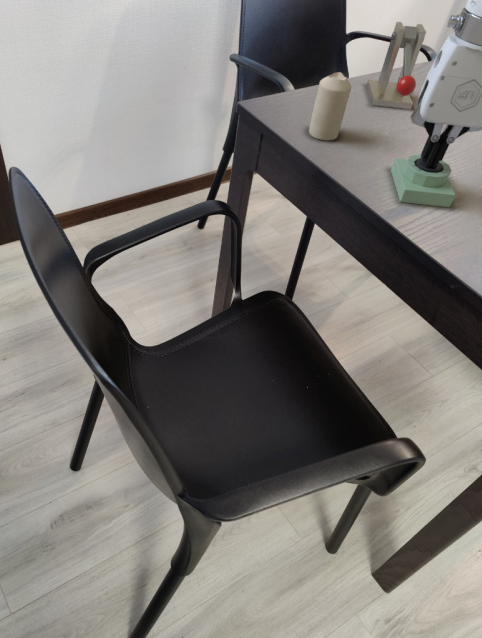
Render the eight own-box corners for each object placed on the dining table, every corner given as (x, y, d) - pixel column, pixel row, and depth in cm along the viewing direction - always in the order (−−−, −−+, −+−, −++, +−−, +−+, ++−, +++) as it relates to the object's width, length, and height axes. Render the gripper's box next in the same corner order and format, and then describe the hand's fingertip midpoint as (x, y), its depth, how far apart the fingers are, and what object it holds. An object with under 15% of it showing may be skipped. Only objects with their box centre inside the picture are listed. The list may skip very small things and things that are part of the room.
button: (435, 168, 83) (439, 158, 81) (440, 181, 80) (444, 171, 79) (410, 166, 83) (415, 155, 81) (415, 178, 80) (419, 168, 79)
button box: (436, 175, 86) (447, 152, 83) (449, 207, 80) (461, 184, 77) (390, 170, 87) (399, 147, 83) (399, 202, 80) (409, 178, 77)
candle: (313, 124, 96) (327, 66, 88) (341, 131, 95) (357, 73, 87) (304, 135, 93) (317, 76, 85) (333, 143, 91) (349, 84, 84)
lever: (411, 101, 97) (418, 87, 93) (393, 99, 97) (400, 85, 93) (412, 39, 100) (420, 24, 96) (395, 38, 100) (402, 22, 96)
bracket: (410, 109, 103) (437, 37, 93) (371, 105, 103) (394, 33, 93) (402, 89, 109) (427, 20, 99) (366, 85, 109) (386, 16, 99)
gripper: (436, 33, 63) (385, 170, 78) (554, 46, 63) (481, 181, 78) (425, 14, 68) (378, 147, 82) (534, 27, 68) (469, 157, 82)
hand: (428, 163), depth 80 cm, fingers closed
